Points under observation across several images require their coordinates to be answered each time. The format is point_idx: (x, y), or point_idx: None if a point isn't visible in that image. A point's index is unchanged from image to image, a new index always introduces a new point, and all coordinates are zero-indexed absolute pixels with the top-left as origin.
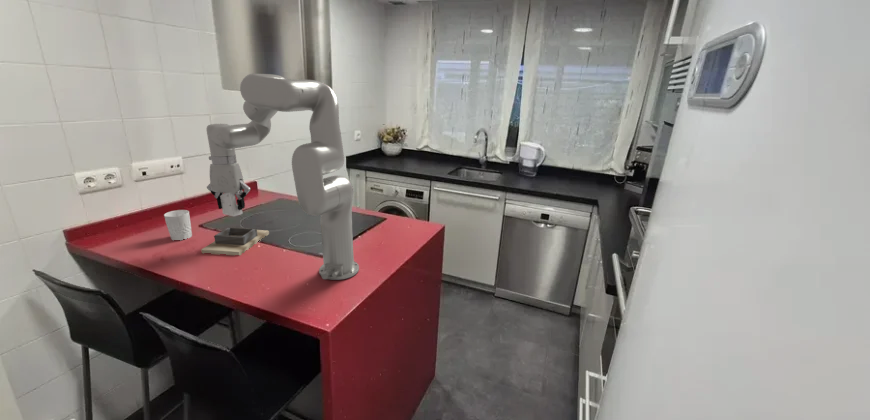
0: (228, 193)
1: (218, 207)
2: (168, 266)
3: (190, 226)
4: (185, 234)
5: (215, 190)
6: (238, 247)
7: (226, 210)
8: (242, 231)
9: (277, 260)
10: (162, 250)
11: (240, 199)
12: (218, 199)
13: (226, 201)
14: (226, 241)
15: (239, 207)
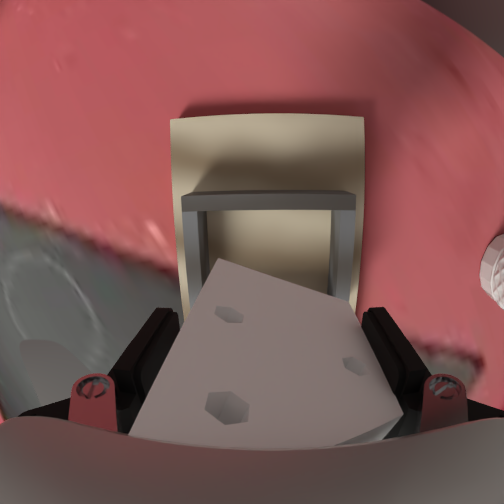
0: (187, 435)
1: (386, 311)
2: (391, 15)
3: (501, 296)
4: (495, 257)
5: (479, 439)
6: (201, 162)
7: (303, 303)
8: None
9: (37, 132)
10: (499, 146)
11: (93, 376)
12: (405, 365)
13: (287, 356)
14: (284, 191)
15: (149, 320)
